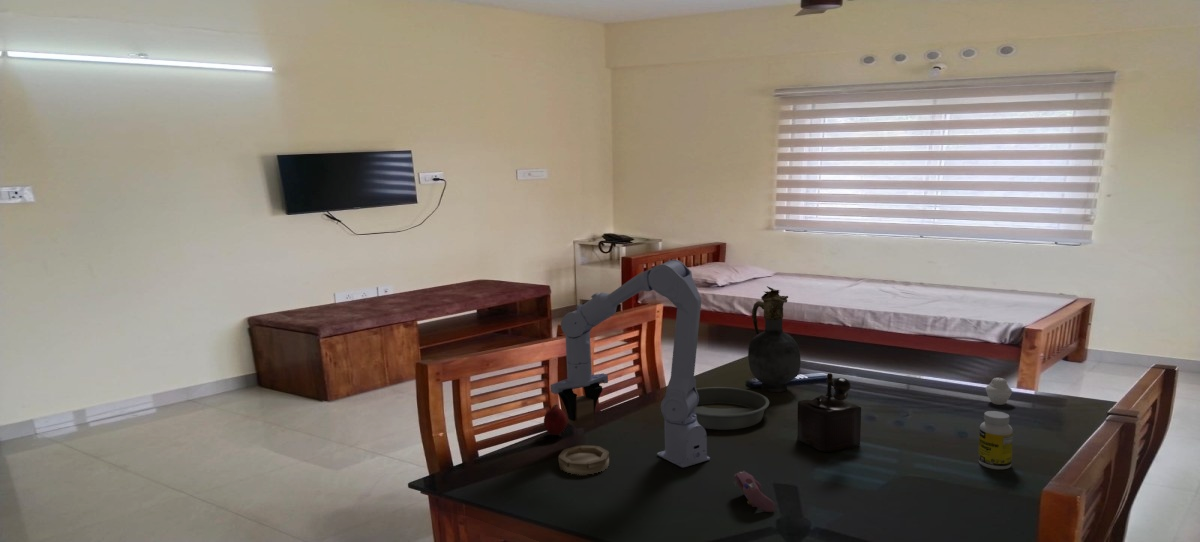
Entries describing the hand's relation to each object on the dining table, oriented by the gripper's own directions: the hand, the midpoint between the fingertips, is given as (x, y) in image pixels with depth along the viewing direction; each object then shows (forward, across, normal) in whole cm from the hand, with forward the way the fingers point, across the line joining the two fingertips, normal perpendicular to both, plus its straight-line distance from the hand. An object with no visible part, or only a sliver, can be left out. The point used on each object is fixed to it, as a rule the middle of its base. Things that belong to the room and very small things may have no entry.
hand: (581, 417), depth 175 cm
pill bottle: (+8, -64, +63) cm, 90 cm away
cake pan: (+7, -40, +4) cm, 41 cm away
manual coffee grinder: (+7, -46, +36) cm, 59 cm away
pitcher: (+7, -68, -6) cm, 69 cm away
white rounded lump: (+8, -104, +41) cm, 112 cm away
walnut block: (+2, 0, 0) cm, 2 cm away
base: (+7, +6, +11) cm, 14 cm away
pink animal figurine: (+7, -11, +46) cm, 48 cm away
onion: (+7, +2, -9) cm, 12 cm away
